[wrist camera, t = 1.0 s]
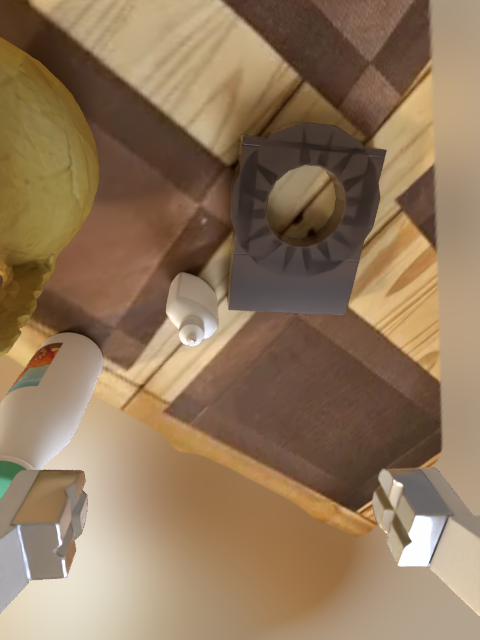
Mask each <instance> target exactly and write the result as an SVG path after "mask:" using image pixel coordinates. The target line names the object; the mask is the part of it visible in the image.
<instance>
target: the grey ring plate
mask: <svg viewBox="0 0 480 640" xmlns="http://www.w3.org/2000/svg"><path fill="white" fill-rule="evenodd" d="M385 155H386V150H384V149H379V148H372V147H364V146H363V144H362V143H361V142H360V141H359V140H357V139H355V138H354V137H352V136H351V135H349V134H348V133H346V132H345V131H343V130H341V129H340V128H338V127H337V126H334V125H324V124H315V123H305V122H296V123H293V124H290V125H287V126H284V127H282V128H279V129H276V130H273V131H270V132H268V133H267V134H266V135H264V136H263V137H258V136H248V135H240V146H239V159H238V168H237V170H236V172H235V174H234V177H233V179H232V181H231V187H230V201H229V214H230V218H231V221H232V224H233V234H232V246H231V259H230V271H229V284H228V296H227V301H228V309H229V310H240V311H264V312H288V313H312V314H336V315H346V311H347V307H348V303H349V299H350V295H351V291H352V287H353V283H354V279H355V275H356V271H357V267H358V263H359V259H360V255H361V251H362V247H363V243H364V240H365V238H366V237H367V236H368V234H369V233H370V231H371V230H372V227H373V225H374V221H375V217H376V213H377V209H378V205H379V201H380V192H379V179H380V175H381V171H382V167H383V163H384V159H385ZM304 165H309V166H318V167H320V168H322V169H323V170H325V171H326V172H327V174H328V175H329V177H330V178H331V180H332V181H333V183H334V187H335V192H336V202H335V207H334V212H333V214H332V216H331V217H330V219H329V221H328V222H327V224H326V225H325V226H324V227H323V228H321V229H320V230H319V231H318V232H316V233H315V234H314V235H311V236H308V237H305V238H302V239H293V238H286V237H284V236H282V235H280V234H278V233H276V232H275V231H274V230H273V229H272V228H271V227H270V225H269V222H268V218H267V215H266V209H267V201H268V196H269V194H270V192H271V190H272V188H273V187H274V185H275V183H276V181H277V180H279V179H280V178H281V177H282V176H283V175H284V174H285V173H287V172H288V171H289V170H292V169H295V168H298V167H301V166H304Z"/></svg>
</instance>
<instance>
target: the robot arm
mask: <svg viewBox="0 0 480 640" xmlns="http://www.w3.org/2000/svg"><path fill="white" fill-rule="evenodd" d="M378 480H379V482H380V484H381V485H380V486H379V487H378V488H377V489H376V490H375V491H374V495H373V499H372V503H373V512H374V516H375V519H376V521H377V523H378V525H379V527H380V528H382V529H383V530H384V531H385V532H386V533H388V537H387V544H388V546H389V548H390V550H391V552H392V554H393V556H394V559H395V561H396V563H397V565H398V566H429V568H430V569H431V570H432V571H433V572H434V573H435V574H436V575H437V576H438V577H439V578H440V579H441V580H442V581H443V582H444V583H445V584H446V585H447V586H448V587H450V588H451V589H452V590H453V591H454V592H455V593H456V594H457V595H458V596H459V597H460V598H461V599H462V600H463V601H464V602H465V603H466V604H467V605H468V606H469V607H470V608H471V609H472V610H473V611H474V612H475V613H476V614H478V615H479V616H480V516H473V514H472V513H471V512H470V511H469V509H468V508H467V507H466V505H465V504H464V503H463V501H462V500H461V499H460V497H459V496H458V495H457V494H456V492H455V491H454V490H453V488H452V487H451V486H450V484H449V483H448V482H447V481H446V479H445V478H444V477H443V476H442V474H441V473H440V471H439V470H437V469H436V468H434V467H427V468H383V469H382V470H381V471H380V473H379V477H378ZM85 482H86V481H85V474H84V471H81V470H21V471H20V472H19V473H18V474H16V476H15V477H14V479H13V481H12V482H11V484H10V486H9V487H8V489H7V491H6V492H5V494H4V496H3V497H2V499H1V500H0V613H1V612H2V611H3V610H4V609H5V608H6V607H7V606H8V605H9V604H10V603H11V601H12V600H13V599H14V598H15V597H16V596H17V595H18V594H19V593H20V592H21V591H22V590H23V588H24V587H25V586H26V585H27V584H28V583H29V581H28V580H42V579H57V578H67V575H68V573H69V570H70V567H71V564H72V561H73V558H74V555H75V552H76V547H75V539H77V538H78V537H79V536H80V535H81V534H82V531H83V528H84V525H85V520H86V515H87V505H88V500H87V494H86V493H85V492H84V491H83V487H84V484H85Z"/></svg>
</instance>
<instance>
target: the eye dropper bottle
mask: <svg viewBox="0 0 480 640" xmlns="http://www.w3.org/2000/svg"><path fill="white" fill-rule="evenodd" d="M166 313H167V315H168V317H169V318H170V320H171V321H172V322H173V324H174V325H175V326H176V327H177V328H178V329H179V339H180V340H181V342H182V343H184V344H185V345H188V346H190V347H192V346H195V345H198V344H199V343H201V342H202V341H203V339H206V338H209V337H211V336H212V334H213V333H214V332H215V331H216V330H217V328H218V304H217V296H216V294H215V292H214V291H213V290H212V288H211V287H210V286H209V285H208V284H207V283H206V282H205V281H203V280H202V279H200V278H199V277H197V276H194V275H192V274H189V273H184V272H181V273H179V274H178V275H177V276H176V277H175V279H174V280H173V281H172V283H171V286H170V290H169V295H168V300H167V306H166Z"/></svg>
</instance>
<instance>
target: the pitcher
mask: <svg viewBox="0 0 480 640" xmlns="http://www.w3.org/2000/svg"><path fill="white" fill-rule="evenodd" d="M98 184H99V161H98V154H97V148H96V143H95V140H94V137H93V134H92V132H91V130H90V127H89V125H88V124H87V122H86V119H85V116H84V114H83V112H82V111H81V109H80V107H79V105H78V104H77V103H76V101H75V99H74V97H73V95H72V94H71V93H70V91H69V90H68V89H67V88H66V87H65V86H64V85H63V84H62V83H61V82H60V81H59V80H58V79H57V78H56V77H55V76H54V75H53V74H52V73H51V72H50V71H49V70H48V69H47V68H46V67H45V66H44V65H43V64H42V63H41V62H40V61H38V60H36V59H34V58H32V57H31V56H30V55H28V54H27V53H25V52H24V51H22V50H21V49H19V48H17V47H16V46H14V45H12V44H11V43H9V42H8V41H6V40H4V39H3V38H1V37H0V275H1V276H2V277H3V284H2V286H1V288H0V357H1V356H3V355H5V354H6V353H8V351H9V350H10V349H11V348H12V346H13V344H14V343H15V342H16V340H17V339H18V337H19V336H20V335H21V331H20V330H19V329H20V328H21V327H23V326H25V324H26V323H27V321H28V320H29V318H30V317H31V315H32V314H33V312H34V311H35V309H36V308H37V300H36V299H37V298H38V297H39V296H40V295H41V293H42V291H43V288H44V284H45V283H46V282H47V280H48V279H49V278H50V277H51V276H52V275H53V273H54V271H55V263H56V257H57V256H58V254H59V253H60V252H61V250H62V249H63V248H64V247H66V246H67V245H68V244H69V243H70V241H71V240H72V239H73V237H74V236H75V234H76V233H77V232H78V230H79V229H80V227H81V226H82V224H83V223H84V221H85V219H86V218H87V216H88V215H89V213H90V211H91V208H92V205H93V202H94V197H95V194H96V192H97V190H98Z"/></svg>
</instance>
